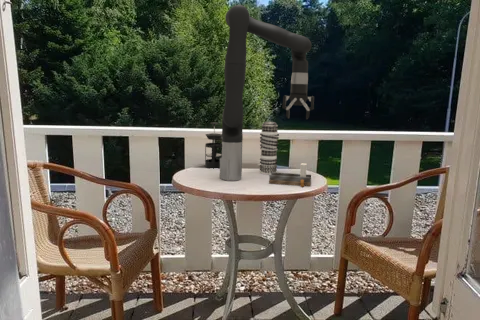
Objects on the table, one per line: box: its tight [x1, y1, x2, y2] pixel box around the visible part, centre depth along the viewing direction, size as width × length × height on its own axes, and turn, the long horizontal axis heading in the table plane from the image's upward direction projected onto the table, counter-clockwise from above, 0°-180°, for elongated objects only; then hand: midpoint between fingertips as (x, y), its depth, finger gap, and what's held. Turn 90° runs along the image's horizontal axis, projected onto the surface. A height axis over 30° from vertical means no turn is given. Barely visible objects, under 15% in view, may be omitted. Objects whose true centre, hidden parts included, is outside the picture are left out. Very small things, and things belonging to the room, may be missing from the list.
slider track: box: [268, 171, 312, 188], centre depth 186 cm, size 18×11×4 cm, turn 79°
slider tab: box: [298, 162, 309, 178], centre depth 185 cm, size 5×4×7 cm
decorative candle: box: [259, 121, 280, 176], centre depth 204 cm, size 9×9×25 cm
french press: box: [204, 122, 222, 170], centre depth 215 cm, size 12×9×23 cm
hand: (297, 118), depth 194 cm, fingers open, 8 cm apart
